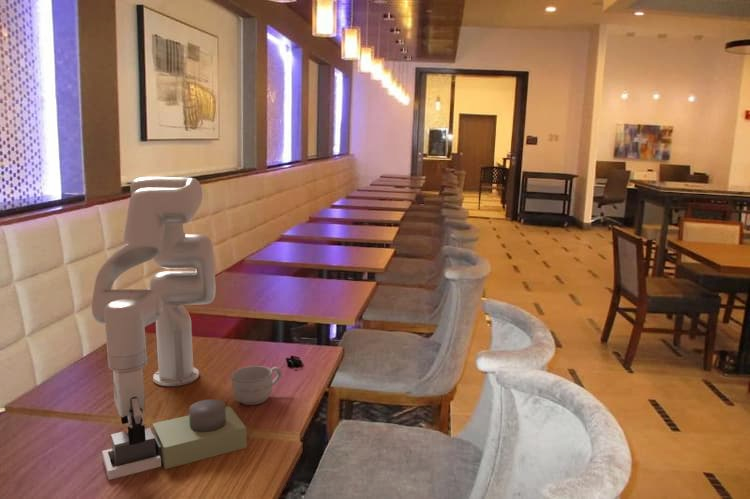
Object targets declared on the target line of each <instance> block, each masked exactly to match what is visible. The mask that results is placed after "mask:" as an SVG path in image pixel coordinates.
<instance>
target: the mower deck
mask: <svg viewBox="0 0 750 499" xmlns="http://www.w3.org/2000/svg"><path fill="white" fill-rule="evenodd" d="M152 433H153V435H154V437H155V450H156V457H153V458H149V459H145V460H141V461H137V462H133V463H129V464H125V465H121V466H117V467H115V466H114V467H113V466H112V465H113V464H112V462H111V460H113V454H112V448H109V449H105V450H102V451H101V452H102V455H101V456H102V460H103V461H102V462H103V465H104V468H105V472H106V475H107V479H108V481H110V480H113V479H118V478H122V477H125V476H129V475H133V474H137V473H140V472H141V473H142V472H145V471H148V470H149V471H150V470H152V469H155V468H156V469H157V468H160V467H162V465H163V467H164V469H165V470H167V469H171V468H175V467H178V466H181V465H185V464H189V463H193V462H197V461H201V460H202V461H203V460H205V459H210V458H212V457H216V456H221V455H224V454H227V453H232V452H235V451H240V450H243V449H246V448H247V447H248V446H247V445H248V443H247V442H248V441H247V427H246V425H245V424H244V423H243V422H242V420H241V419H240V418H239V416H238V415H237V414H236V413H235V410H233V408H232V407H231V406H230V405H229V406H226V403H225V402H223V401H222V400H219V399H211V398H210V399H204V400H199V401H197V402H194V403H192V404H191V405H190V406H189V408H188V415H184V416H180V417H175V418H172V419H167V420H162V421H157V422H154V423H152Z"/></svg>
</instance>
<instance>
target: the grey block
mask: <svg viewBox="0 0 750 499" xmlns="http://www.w3.org/2000/svg"><path fill="white" fill-rule="evenodd" d="M110 439H111V449H112V454H113V459H112V463H113V465H114V467H117V466H121V465H125V464H129V463H133V462H137V461H141V460H145V459H149V458H153V457H157V453H156V450H155V437H154V435H153V430H152V429H151V427H148V428H145V439H146V440H145V442H141V443H137V444H133V445H130V444H129V437H128V432H127V431H126V430H124V431H120V432H115V433H111V434H110Z"/></svg>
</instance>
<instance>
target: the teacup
mask: <svg viewBox="0 0 750 499" xmlns="http://www.w3.org/2000/svg"><path fill="white" fill-rule="evenodd" d="M275 372H276V376H275V377H274V379H273V374H274V373H275ZM282 372H283V371H282V369H281V368H279V367H277V366H273V367H271V368H270V367H269V366H268V367H267V366H264V365H250V366H245V367H244V366H243V367H239V368H238V369H236V370H234V371H232V372H231V383H232V384H231V385H232V386H231V387H232V393H233V396H234V398H235V400H237V401H238V402H240V403H241V404H243V405H247V406H248V405H249V406H255V405H256V406H257V405H260V404H262V403H264V402H266V400H267V399H268V398H270V396H271V395H272V393H273V387H274V386H275V385H276V384H277V383H278V382H279V381H280V379H281V378H282Z"/></svg>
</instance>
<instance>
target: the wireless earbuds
mask: <svg viewBox="0 0 750 499" xmlns="http://www.w3.org/2000/svg"><path fill="white" fill-rule="evenodd" d="M285 362H286V365H287V366H286V367H288V368H291V367H294V366H295V367H302V365H303V361H302V359H301V357H299V356H295V355H290V356H289V357H286V358H285Z"/></svg>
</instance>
